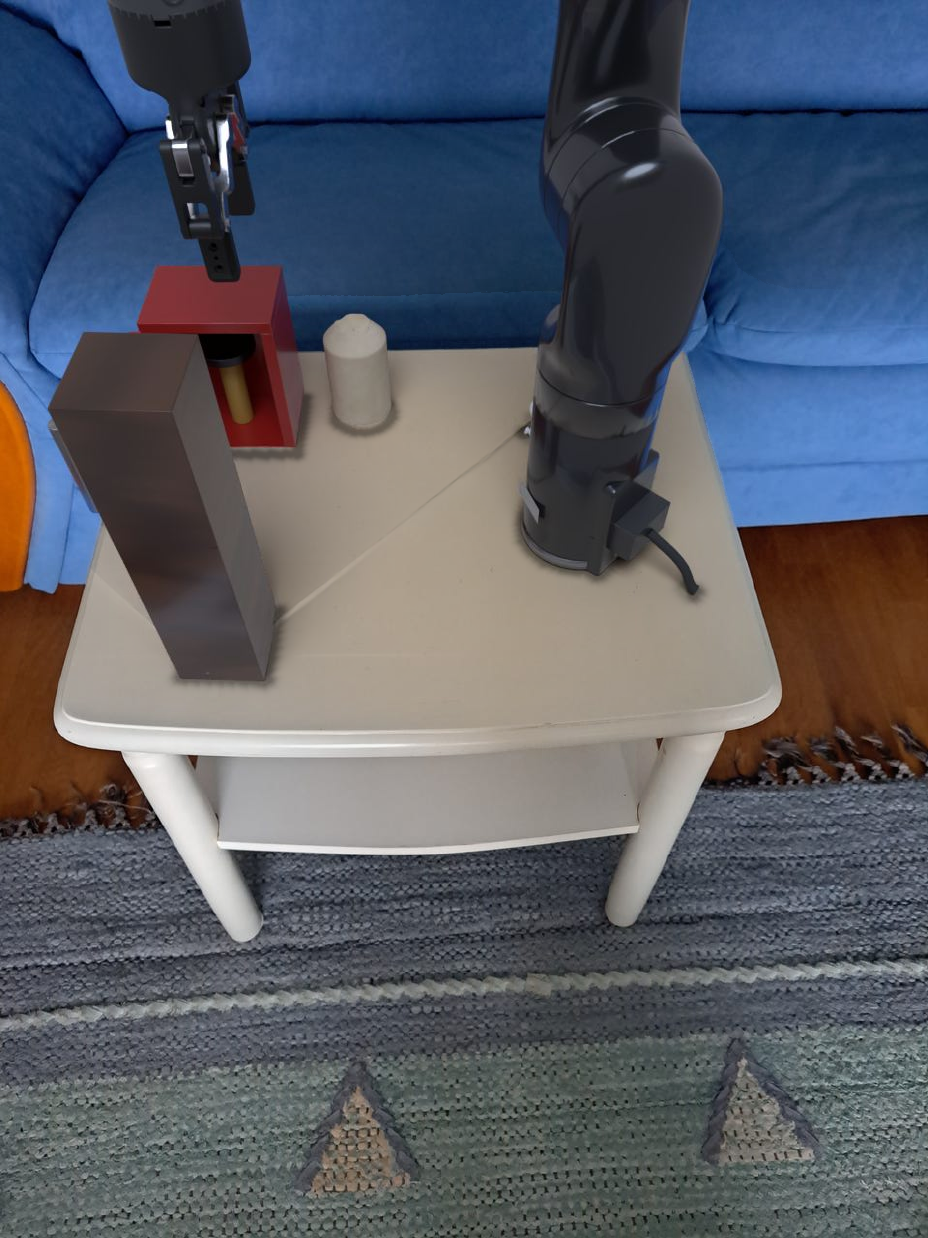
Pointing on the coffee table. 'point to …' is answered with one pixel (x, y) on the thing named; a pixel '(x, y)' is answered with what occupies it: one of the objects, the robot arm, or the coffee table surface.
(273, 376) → the cabinet
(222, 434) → the plinth
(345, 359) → the candle
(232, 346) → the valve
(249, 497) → the coffee table surface
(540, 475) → the robot arm
